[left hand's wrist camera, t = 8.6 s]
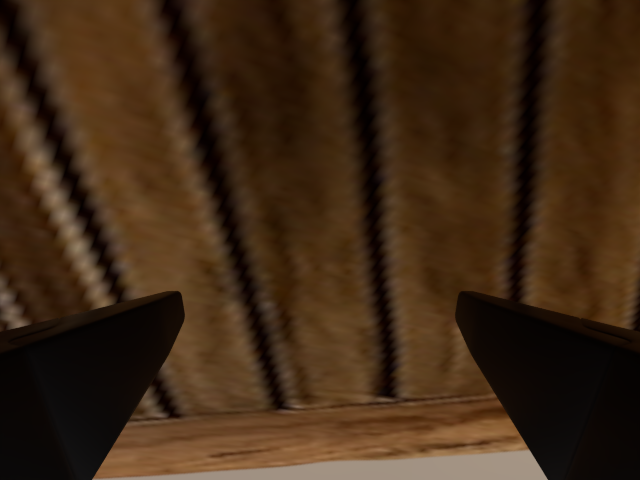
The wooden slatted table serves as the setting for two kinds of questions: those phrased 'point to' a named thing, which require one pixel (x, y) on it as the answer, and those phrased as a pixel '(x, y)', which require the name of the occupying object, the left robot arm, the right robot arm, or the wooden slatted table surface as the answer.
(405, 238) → the wooden slatted table surface
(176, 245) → the wooden slatted table surface
